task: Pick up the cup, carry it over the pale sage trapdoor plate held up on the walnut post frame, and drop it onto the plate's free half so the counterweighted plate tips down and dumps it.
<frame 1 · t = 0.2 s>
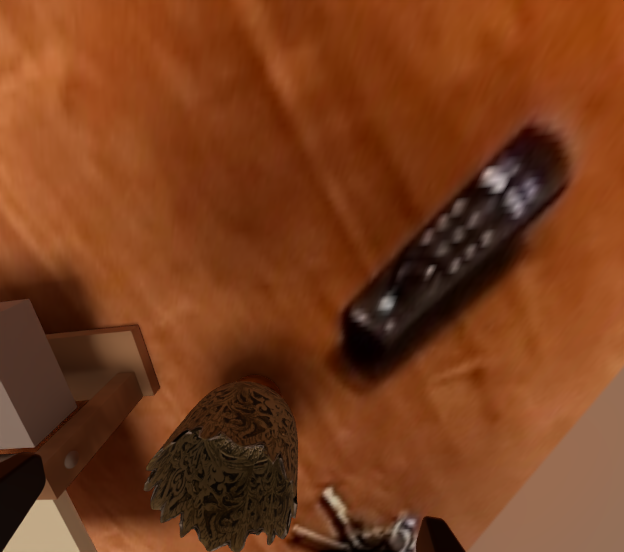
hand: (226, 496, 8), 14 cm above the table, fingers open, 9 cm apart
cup: (258, 391, 24), on the table
post frame: (42, 385, 25), on the table
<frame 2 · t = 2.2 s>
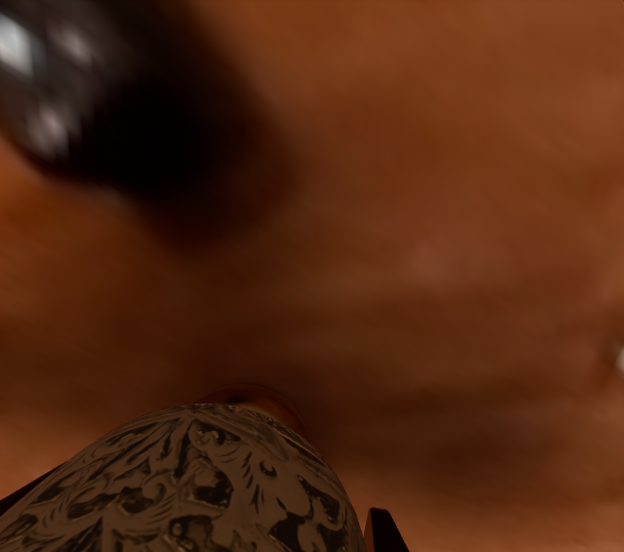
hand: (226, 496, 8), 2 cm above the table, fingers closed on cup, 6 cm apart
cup: (253, 421, 10), on the table, touching gripper
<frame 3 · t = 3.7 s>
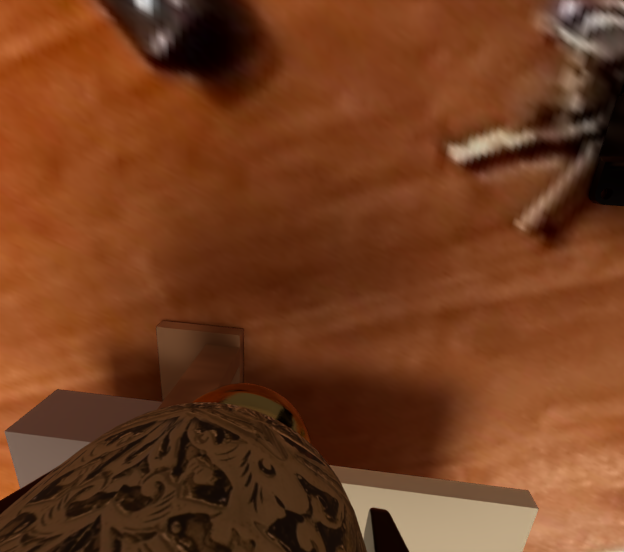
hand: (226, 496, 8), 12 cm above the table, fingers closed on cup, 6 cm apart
trapdoor: (260, 539, 18), point 6 cm above the table, hinge at 0.0°
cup: (252, 420, 10), point 10 cm above the table, touching gripper
post frame: (229, 445, 24), on the table
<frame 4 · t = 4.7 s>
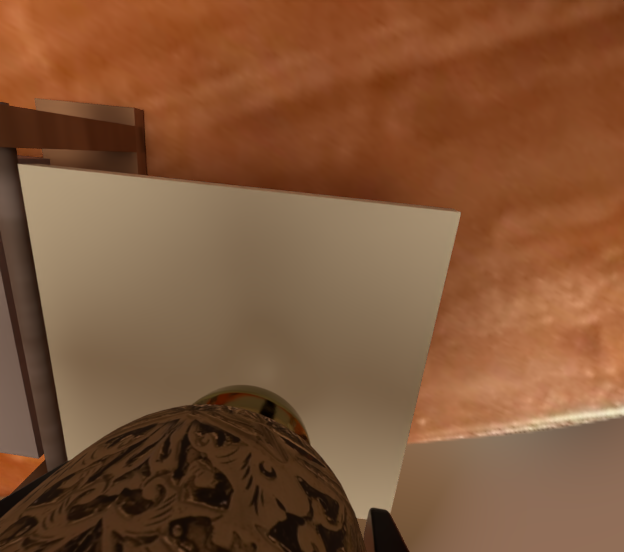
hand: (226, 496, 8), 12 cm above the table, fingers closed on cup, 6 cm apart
trapdoor: (138, 330, 15), point 6 cm above the table, hinge at 0.0°
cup: (252, 422, 10), point 10 cm above the table, touching gripper
post frame: (135, 277, 20), on the table
when the fingers open (12 cm above the table, at t = 5.3 s): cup drops 4 cm, resting on trapdoor.
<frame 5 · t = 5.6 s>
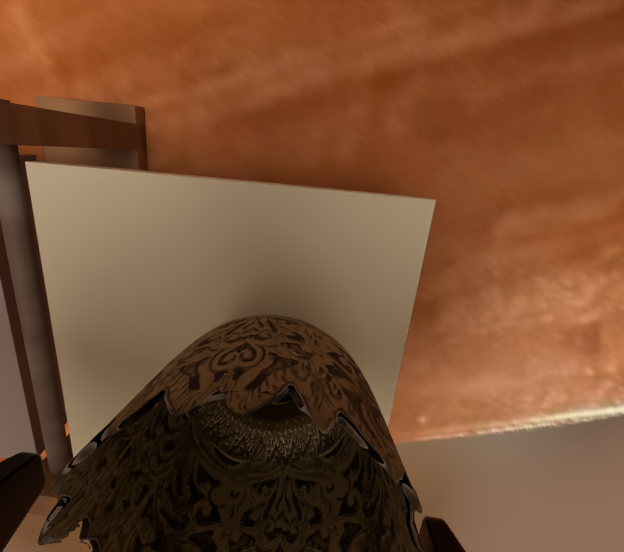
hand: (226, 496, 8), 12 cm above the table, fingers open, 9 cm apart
trapdoor: (141, 321, 15), point 5 cm above the table, hinge at -9.7°, touching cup
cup: (280, 348, 14), point 6 cm above the table, touching trapdoor
post frame: (136, 275, 20), on the table
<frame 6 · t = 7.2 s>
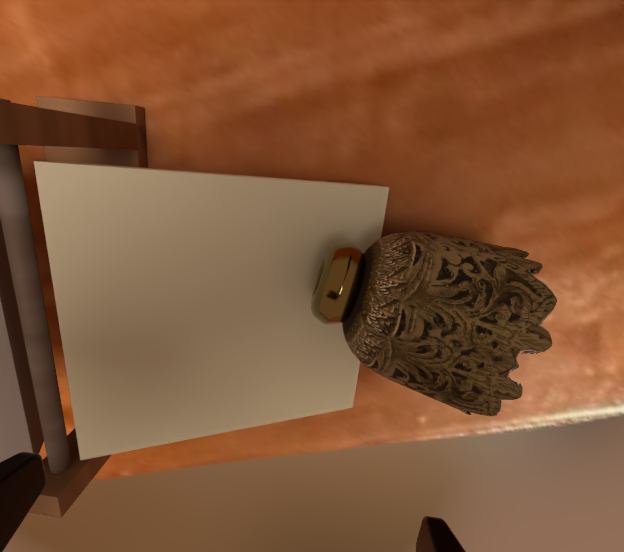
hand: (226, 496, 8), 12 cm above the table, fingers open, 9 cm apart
trapdoor: (137, 311, 16), point 4 cm above the table, hinge at -26.4°, touching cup
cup: (314, 276, 15), point 4 cm above the table, touching trapdoor
post frame: (136, 275, 20), on the table
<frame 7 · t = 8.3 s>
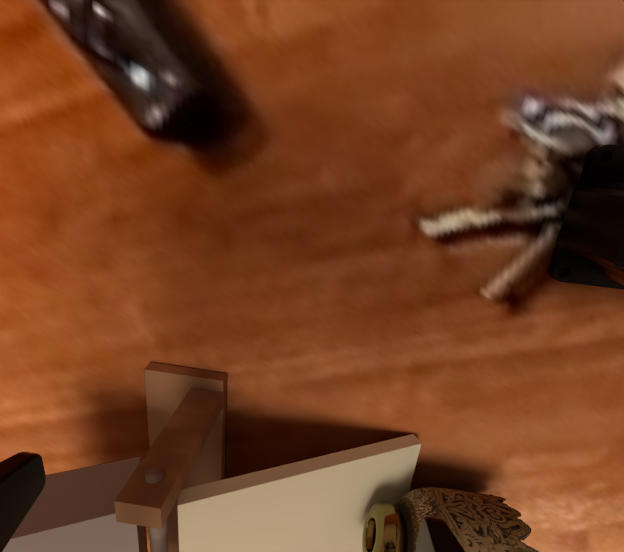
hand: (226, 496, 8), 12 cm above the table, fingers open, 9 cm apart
trapdoor: (226, 546, 21), point 4 cm above the table, hinge at -26.5°, touching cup
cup: (366, 533, 20), point 4 cm above the table, touching trapdoor
post frame: (211, 477, 25), on the table
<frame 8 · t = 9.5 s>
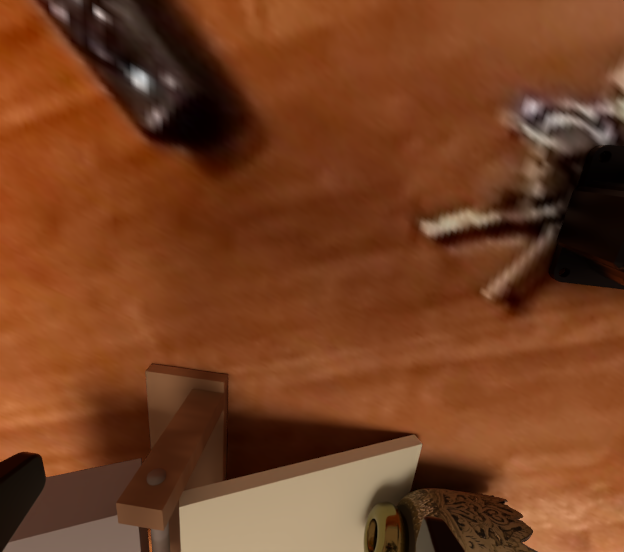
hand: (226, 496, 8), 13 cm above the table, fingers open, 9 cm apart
trapdoor: (228, 547, 21), point 4 cm above the table, hinge at -26.5°, touching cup
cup: (367, 534, 20), point 4 cm above the table, touching trapdoor
post frame: (212, 478, 25), on the table
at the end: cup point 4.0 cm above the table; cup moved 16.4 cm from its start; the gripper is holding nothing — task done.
